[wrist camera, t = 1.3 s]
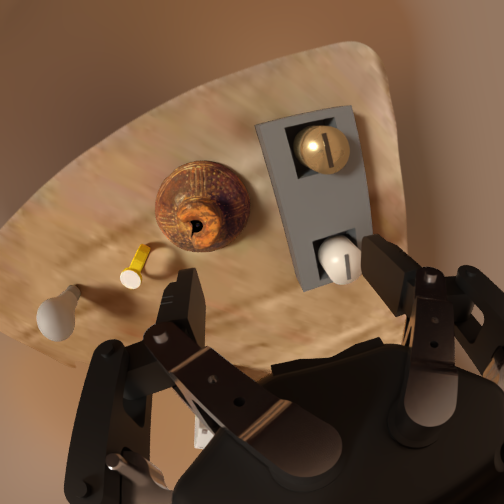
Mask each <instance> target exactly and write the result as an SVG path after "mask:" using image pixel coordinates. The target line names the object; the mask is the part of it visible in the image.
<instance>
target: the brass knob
mask: <svg viewBox="0 0 504 504" xmlns="http://www.w3.org/2000/svg"><path fill="white" fill-rule="evenodd" d="M293 149H294V153H295V156H296V158H297V159H298V161H299V162H300V163H301V164H303V165H304V166H306V167H308V168H310V169H312V170H314V171H316V172H318V173H321V174H333V173H336V172H338V171H340V170H341V169H342V168H343V167H344V166H345V165H346V163H347V161H348V158H349V155H350V147H349V143H348V140H347V138H346V136H345V135H344V134H343V133H342V132H341V131H340V130H338V129H337V128H334V127H331V126H308V127H305V128H303V129H302V130H301V131H299V133H298V134H297V135H296V137H295V140H294V144H293Z"/></svg>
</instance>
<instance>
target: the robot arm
mask: <svg viewBox="0 0 504 504" xmlns="http://www.w3.org/2000/svg"><path fill="white" fill-rule="evenodd" d="M361 271H362V274H363V276H364V278H365V279H366V280H367V281H368V282H369V284H370V285H371V286H372V287H373V289H374V290H375V291H376V292H377V294H378V295H379V296H380V297H381V299H382V300H383V301H384V303H385V304H386V305H387V306H388V308H389V309H390V310H391V312H392V313H393V314H394V315H395V317H398V316H400V315H403V314H406V319H405V324H404V331H403V337H402V343H401V345H399V344H383V342H382V340H381V339H380V337H377V338H374V339H371V340H368V341H365V342H361V343H358V344H355V345H353V346H351V347H350V348H348V349H346V350H344V351H342V352H340V353H339V354H337V355H335V356H333V357H330V358H315V359H298V360H293V361H289V362H284V363H279V364H274V365H271V370H272V374H270V375H267V376H266V377H264V378H262V379H260V380H259V381H257V382H255V381H254V380H253V379H251V378H250V377H248V376H247V375H246V374H244V373H243V372H242V371H240V370H239V369H238V368H236V367H235V366H234V365H232V364H231V363H230V362H229V361H227V360H226V359H225V358H223V357H222V356H221V355H220V354H218V353H217V352H216V351H215V350H213V349H212V348H211V347H209V346H206V347H205V315H206V305H205V298H204V294H203V291H202V288H201V284H200V281H199V278H198V274H197V271H196V269H195V268H190V269H184V270H179V272H178V277H177V281H176V282H172V283H169V285H168V286H167V287H166V288H165V289H164V292H163V296H162V300H161V305H160V308H159V312H158V316H157V320H156V324H154V325H152V326H151V327H149V328H148V329H147V330H146V332H145V333H144V335H143V340H142V341H140V342H138V343H135V344H132V345H129V346H126V347H125V346H124V345H123V343H122V342H121V341H119V340H116V339H112V340H107V341H105V342H103V343H101V344H100V345H99V346H98V347H97V348H96V349H95V351H94V353H93V356H92V359H91V362H90V366H89V369H88V372H87V376H86V379H85V382H84V386H83V390H82V393H81V397H80V401H79V405H78V409H77V413H76V418H75V422H74V427H73V431H72V437H71V442H70V447H69V453H68V459H67V466H66V474H65V481H64V493H65V496H66V499H67V500H68V502H69V503H70V504H504V292H503V291H501V290H500V289H499V288H498V287H497V286H496V285H495V284H494V283H493V282H492V281H491V280H490V279H489V278H488V277H487V276H486V275H484V274H483V273H482V272H481V271H480V270H479V269H477V268H475V267H473V266H469V265H463V266H460V267H459V268H458V271H457V275H456V276H449V277H445V276H444V274H443V273H442V272H441V271H440V270H438V269H436V268H433V267H421V266H420V265H419V264H418V263H416V261H414V260H413V259H412V258H411V257H410V256H408V254H406V253H405V252H403V250H402V249H401V248H399V247H398V246H397V245H395V244H393V243H390V242H387V241H386V240H385V239H384V238H382V237H381V236H380V235H379V234H373V235H368V236H364V237H363V238H362V246H361ZM474 304H475V305H476V306H477V307H478V308H479V309H480V310H481V311H482V312H483V314H484V324H483V326H481V325H480V324H479V322H478V321H477V320H476V319H475V317H474V316H473V315H472V314H471V312H472V310H473V307H474ZM455 338H456V339H457V340H458V342H459V343H460V344H461V346H462V347H463V349H464V350H465V351H466V353H467V354H468V356H469V357H470V359H471V360H472V361H473V363H474V364H475V366H476V367H477V369H478V370H479V372H480V374H481V375H482V377H481V376H479V375H476V374H474V373H471V372H468V371H466V370H464V369H461V368H459V367H456V366H455ZM170 387H171V388H172V390H173V391H174V392H175V393H176V394H177V395H178V396H179V397H180V399H181V400H182V401H183V402H184V403H185V404H186V405H187V406H188V407H189V409H190V410H191V411H192V412H193V413H194V414H195V415H196V416H197V417H198V418H199V420H200V421H201V422H202V423H203V424H204V426H205V427H206V428H207V429H208V430H209V431H210V432H211V433H212V434H213V435H214V436H213V437H212V439H211V440H210V441H209V443H208V444H207V445H206V447H205V448H204V449H203V450H202V452H201V453H200V454H199V456H198V457H197V458H196V459H195V461H194V462H193V463H192V464H191V465H190V467H189V468H188V469H187V470H186V472H185V473H184V474H183V475H182V476H181V478H180V479H179V480H178V482H177V484H176V485H175V488H174V490H173V491H172V490H169V489H168V488H167V486H166V484H165V482H164V476H163V474H162V472H161V471H160V469H159V468H158V467H156V466H155V465H153V464H152V463H151V462H150V426H151V408H152V394H153V393H156V392H159V391H162V390H164V389H167V388H170Z"/></svg>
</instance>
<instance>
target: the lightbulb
mask: <svg viewBox="0 0 504 504" xmlns="http://www.w3.org/2000/svg"><path fill="white" fill-rule="evenodd" d="M80 295H81V293H80V290H79V289H78V288H77V287H76V286H74V285H70V286H69V287H68V288H67V289H66V290H65V291H63V292H62V293H61V294H60V295H59V296H57V297H54V298H50V299H47V300H46V301H44V302H43V303H42V304H41V305H40V307H39V309H38V312H37V324H38V327H39V329H40V331H41V332H42V334H43V335H44V336H45V337H47V338H48V339H50V340H52V341H63V340H65V339H67V338H68V337H69V336H70V335H71V334H72V332H73V330H74V327H75V314H74V312H75V308H76V306H77V301H78V300H79V297H80Z"/></svg>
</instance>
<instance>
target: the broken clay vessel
mask: <svg viewBox="0 0 504 504" xmlns="http://www.w3.org/2000/svg"><path fill="white" fill-rule="evenodd" d="M197 162H198V163H197ZM180 174H181V175H180ZM210 195H211V196H210ZM219 196H220V197H219ZM163 205H164V206H163ZM155 206H156V207H155V215H156V220H157V223H158V225H159V227H160V229H161V230H162V232H163V234H164V235H165V236H166V237H167V238H168V239H169V240H170V241H171V242H172V243H173V244H174V245H176V246H177V247H179V248H181V249H183V250H186V251H192V252H212V251H215V250H217V249H220V248H223V247H225V246H227V245H228V244H229V243H231V242H232V241H233V240H235V239H236V238H237V237H238V236H239V235H240V233H241V232H242V230H243V229H244V227H245V225H246V223H247V220H248V217H249V213H250V199H249V195H248V192H247V190H246V188H245V186H244V184H243V183H242V182H241V180H240V179H239V178H238V177H237V176H236V175H235V174H234V173H233V172H231V171H230V170H229V169H227V168H225V167H224V166H222V165H220V164H217V163H215V162H210V161H194V162H190V163H187V164H185V165H182V166H180V167H178V168H177V169H175V170H174V172H173V173H171V174H170V176H169V177H167V178H166V179H165V180H164V181H163V183H162V184H161V187H160V189H159V191H158V194H157V198H156V204H155ZM167 218H168V219H167ZM192 220H200V221H201V222H202V224H203V228H202V230H201V231H200V232H198V233H194V234H193V236H192V239H191V234H192V224H191V222H190V221H192ZM172 226H173V227H172ZM196 226H197V227H198V226H200V224H196Z"/></svg>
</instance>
